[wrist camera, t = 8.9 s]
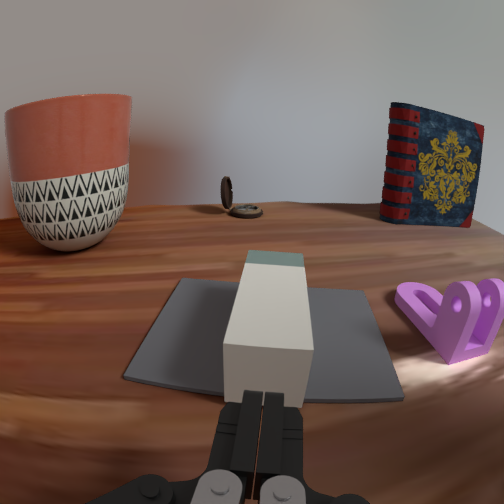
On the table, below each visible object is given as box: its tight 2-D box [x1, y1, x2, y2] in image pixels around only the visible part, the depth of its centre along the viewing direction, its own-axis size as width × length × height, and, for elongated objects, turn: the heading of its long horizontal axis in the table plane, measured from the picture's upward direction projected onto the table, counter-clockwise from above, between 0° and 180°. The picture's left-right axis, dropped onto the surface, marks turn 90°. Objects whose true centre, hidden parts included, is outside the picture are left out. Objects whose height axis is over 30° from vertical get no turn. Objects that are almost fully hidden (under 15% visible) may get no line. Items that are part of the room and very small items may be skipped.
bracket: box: [394, 278, 504, 365], centre depth 27 cm, size 13×6×7 cm, turn 6°
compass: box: [221, 176, 263, 218], centre depth 61 cm, size 8×8×7 cm
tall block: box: [223, 250, 314, 408], centre depth 24 cm, size 5×5×14 cm
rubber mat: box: [123, 278, 404, 403], centre depth 27 cm, size 20×16×1 cm
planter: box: [5, 94, 132, 251], centre depth 40 cm, size 20×20×21 cm
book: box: [380, 102, 484, 228], centre depth 60 cm, size 25×7×25 cm, turn 96°
